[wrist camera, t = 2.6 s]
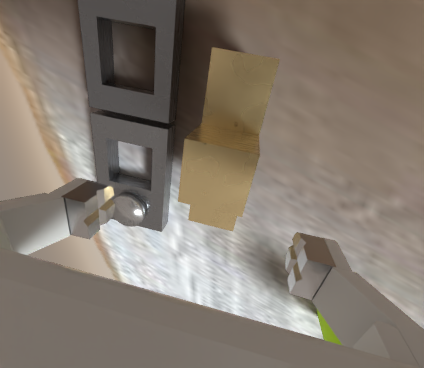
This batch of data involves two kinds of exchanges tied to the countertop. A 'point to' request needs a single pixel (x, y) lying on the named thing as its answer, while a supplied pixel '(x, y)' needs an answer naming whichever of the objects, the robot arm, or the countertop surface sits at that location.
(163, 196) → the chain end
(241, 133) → the tan bridge piece
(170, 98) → the plate
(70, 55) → the countertop surface
